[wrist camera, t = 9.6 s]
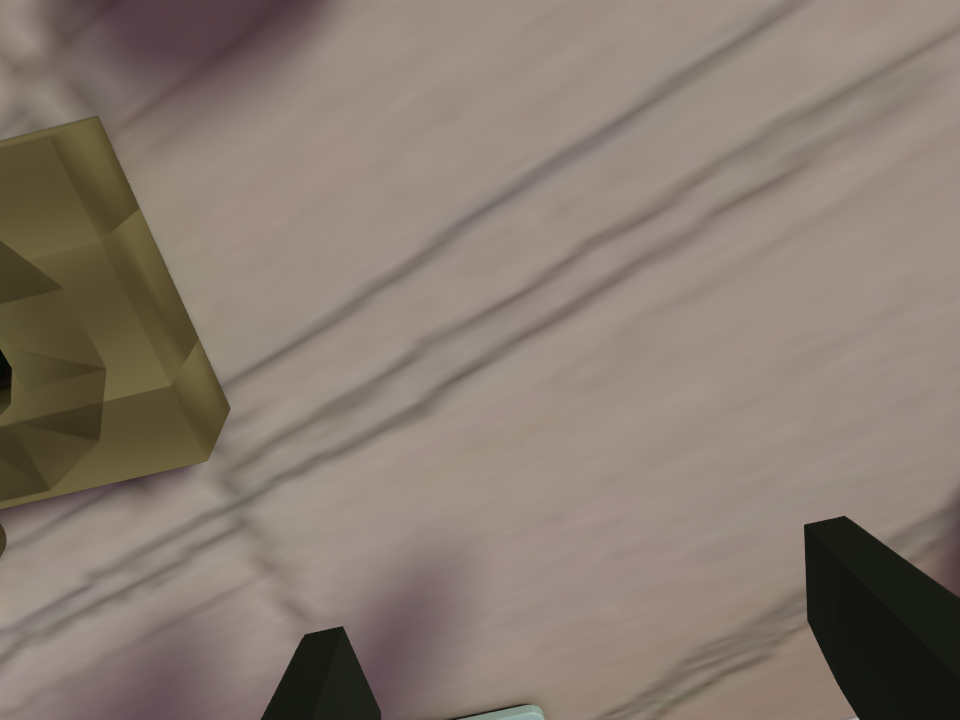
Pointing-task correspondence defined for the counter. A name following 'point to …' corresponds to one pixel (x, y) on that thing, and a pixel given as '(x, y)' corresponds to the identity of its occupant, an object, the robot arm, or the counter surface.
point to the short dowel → (2, 539)
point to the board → (90, 327)
